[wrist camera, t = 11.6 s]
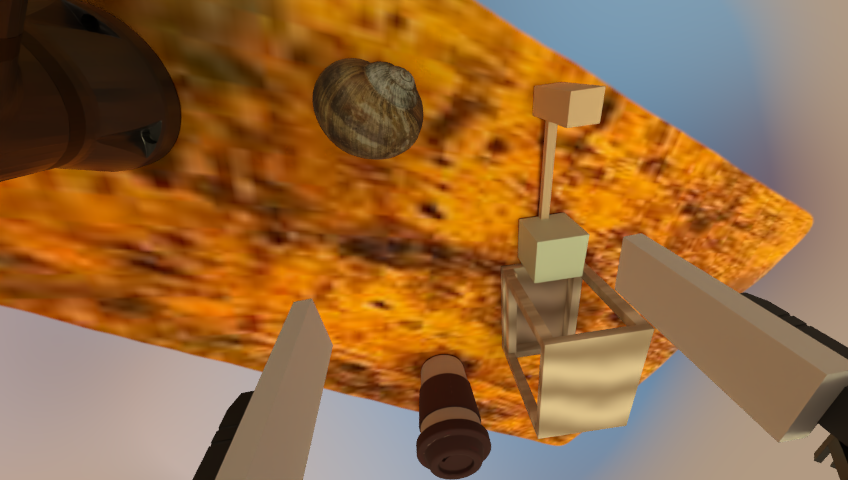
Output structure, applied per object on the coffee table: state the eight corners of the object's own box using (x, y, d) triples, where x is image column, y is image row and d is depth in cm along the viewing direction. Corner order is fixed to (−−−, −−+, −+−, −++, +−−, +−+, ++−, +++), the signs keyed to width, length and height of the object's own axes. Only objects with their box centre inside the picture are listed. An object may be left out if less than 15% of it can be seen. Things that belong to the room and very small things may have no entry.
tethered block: (520, 88, 33) (553, 93, 26) (575, 80, 33) (622, 83, 26) (515, 253, 44) (537, 288, 37) (556, 247, 44) (586, 281, 37)
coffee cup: (479, 374, 53) (506, 470, 40) (429, 395, 55) (439, 494, 41) (455, 338, 49) (476, 433, 36) (402, 362, 50) (403, 461, 37)
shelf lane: (500, 266, 43) (545, 345, 30) (576, 255, 43) (654, 328, 30) (502, 346, 50) (538, 438, 37) (567, 337, 50) (626, 425, 37)
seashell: (437, 94, 33) (447, 96, 26) (395, 168, 36) (393, 188, 29) (340, 27, 29) (321, 8, 22) (303, 115, 33) (276, 123, 26)
